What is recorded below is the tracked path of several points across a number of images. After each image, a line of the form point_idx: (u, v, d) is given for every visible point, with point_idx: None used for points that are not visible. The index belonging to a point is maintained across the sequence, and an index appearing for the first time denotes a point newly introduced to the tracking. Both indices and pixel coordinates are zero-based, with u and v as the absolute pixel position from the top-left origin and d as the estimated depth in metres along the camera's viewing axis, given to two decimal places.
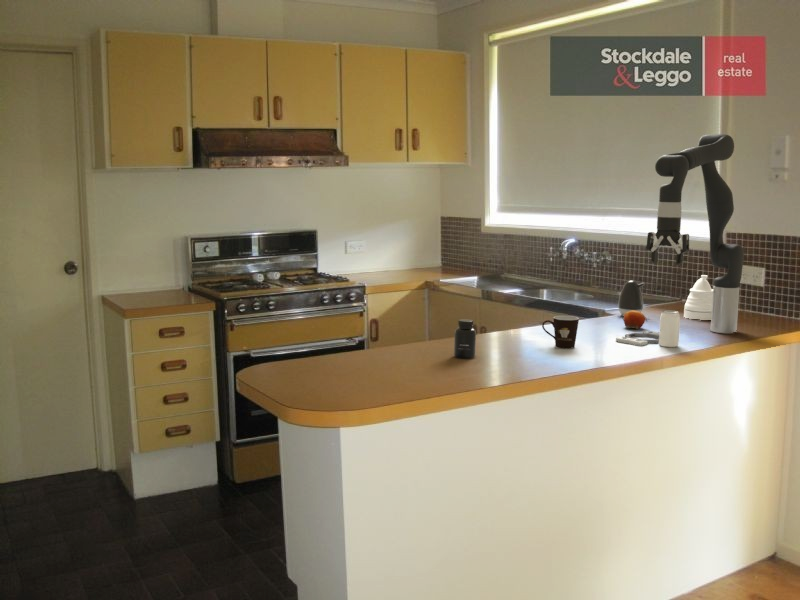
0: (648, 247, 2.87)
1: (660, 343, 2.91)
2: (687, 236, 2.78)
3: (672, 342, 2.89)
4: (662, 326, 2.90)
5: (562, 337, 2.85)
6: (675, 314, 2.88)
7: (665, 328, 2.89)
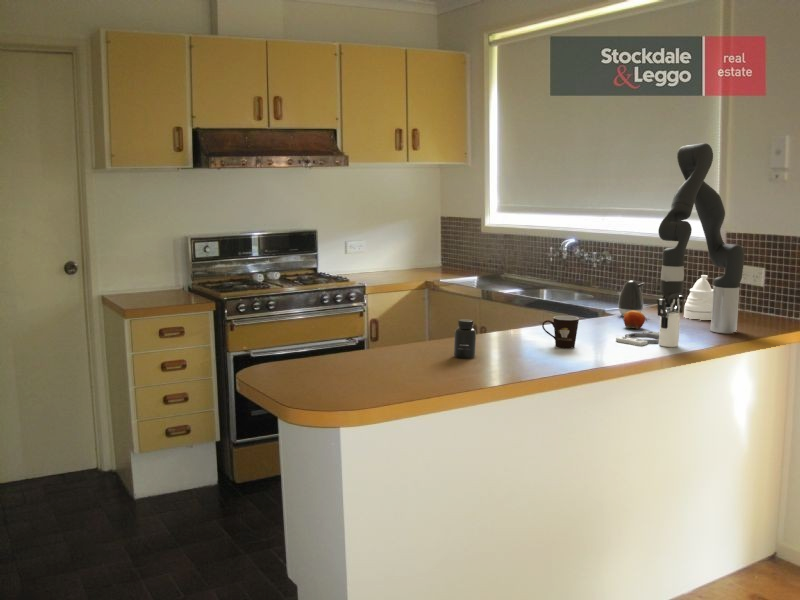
0: (665, 314, 2.86)
1: (660, 343, 2.91)
2: None
3: (672, 342, 2.89)
4: None
5: (562, 337, 2.85)
6: (675, 314, 2.88)
7: None
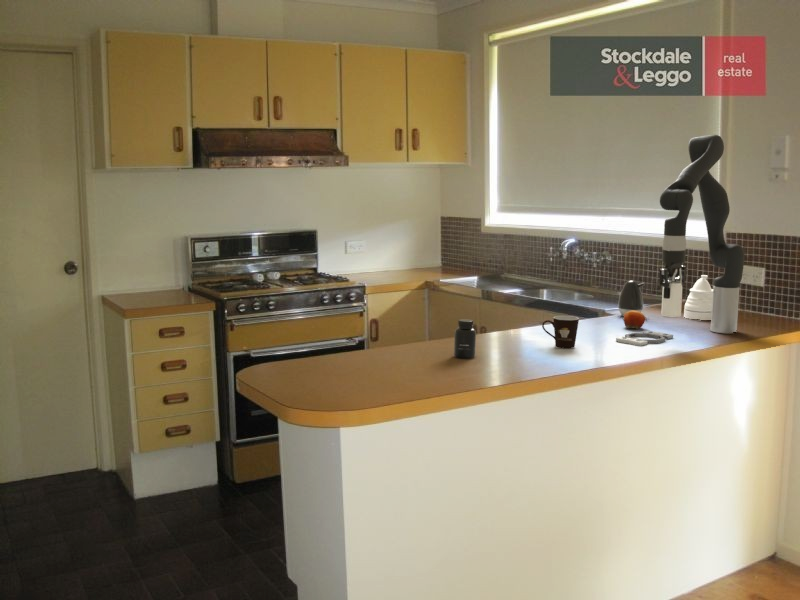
0: (667, 284, 2.84)
1: (662, 314, 2.90)
2: None
3: (675, 313, 2.87)
4: None
5: (562, 337, 2.85)
6: (677, 284, 2.86)
7: None
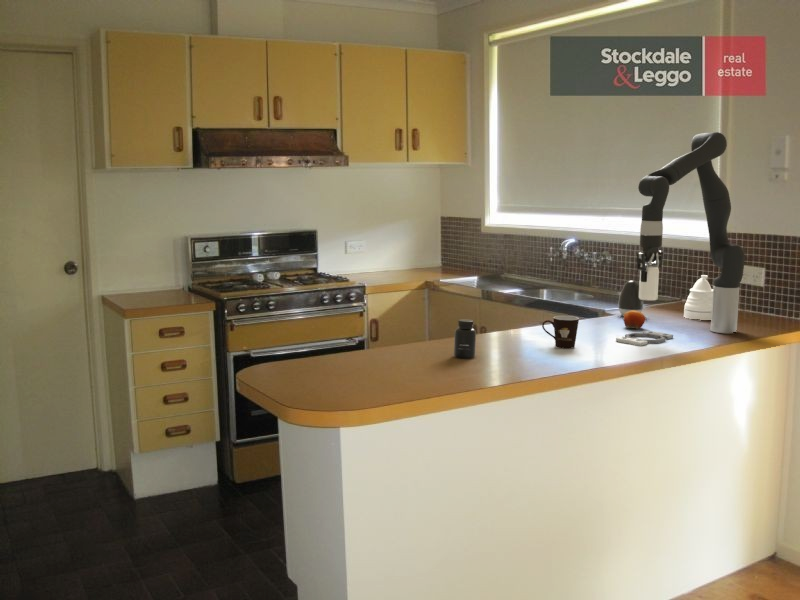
0: (644, 267, 2.93)
1: (640, 297, 2.99)
2: None
3: (651, 296, 2.96)
4: None
5: (562, 337, 2.85)
6: (654, 268, 2.95)
7: (645, 282, 2.96)
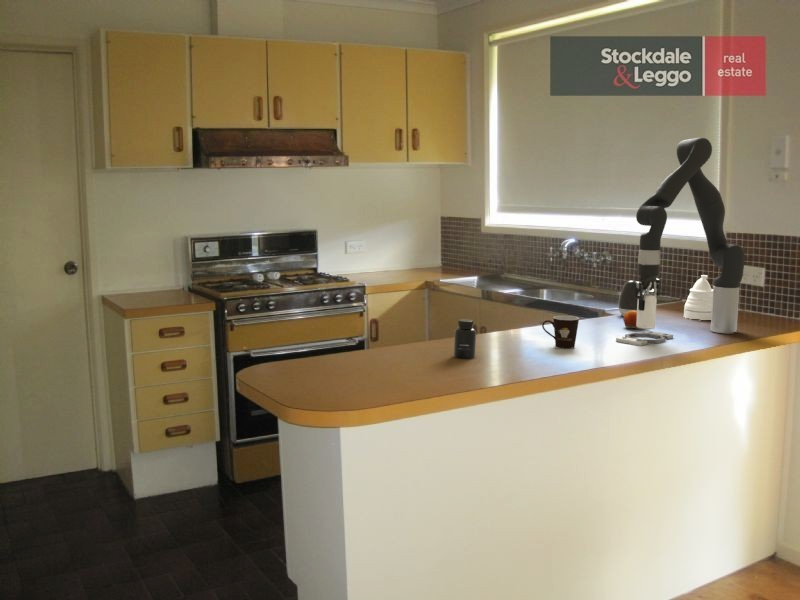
0: (642, 296, 2.95)
1: (637, 325, 3.01)
2: None
3: (649, 324, 2.98)
4: None
5: (562, 337, 2.85)
6: (652, 296, 2.97)
7: None
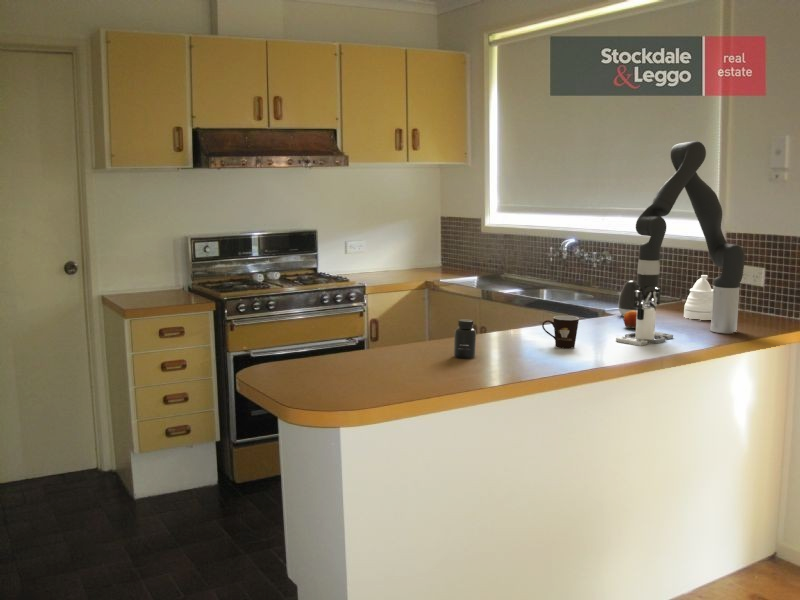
0: (640, 306, 2.95)
1: (636, 337, 3.01)
2: None
3: (648, 337, 2.98)
4: (638, 321, 3.00)
5: (562, 337, 2.85)
6: (651, 309, 2.98)
7: (641, 323, 2.98)
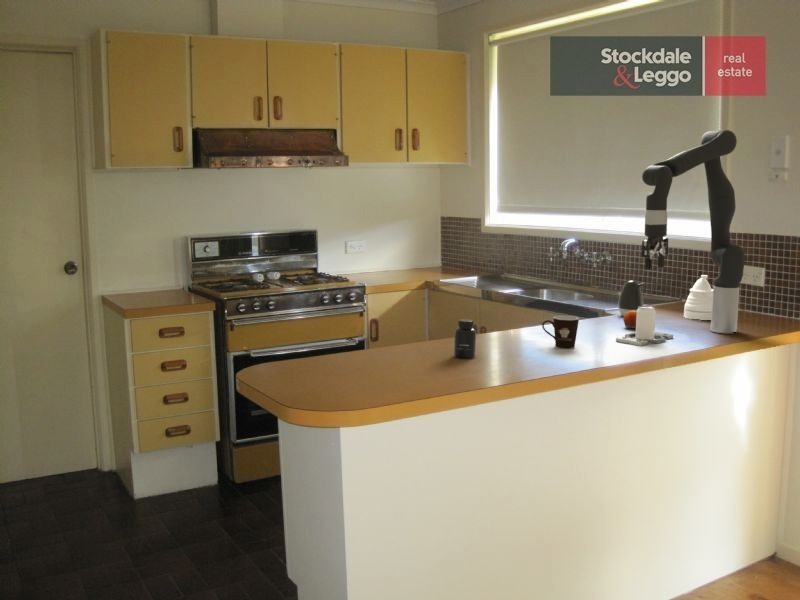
0: (648, 255, 2.95)
1: (636, 337, 3.01)
2: None
3: (648, 337, 2.98)
4: (638, 321, 3.00)
5: (562, 337, 2.85)
6: (651, 309, 2.98)
7: (641, 323, 2.98)
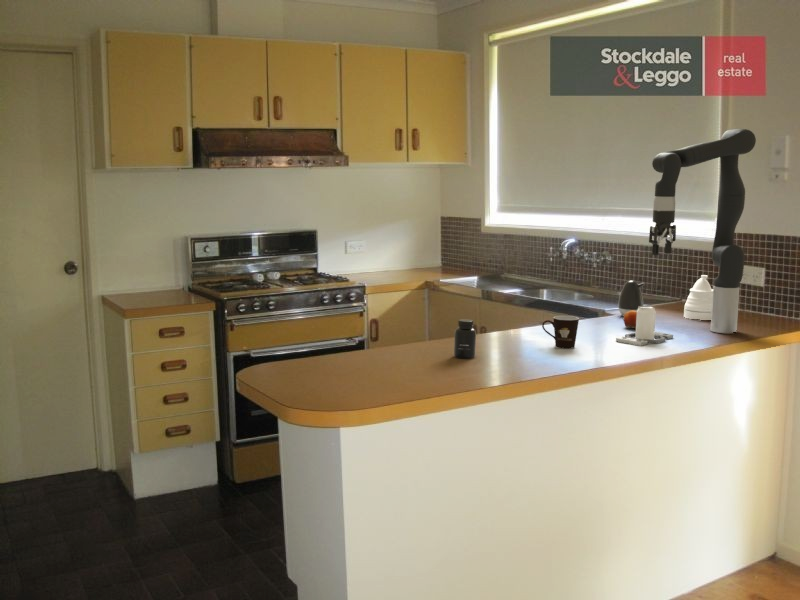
0: (656, 241, 2.99)
1: (636, 337, 3.01)
2: None
3: (648, 337, 2.98)
4: (638, 321, 3.00)
5: (562, 337, 2.85)
6: (651, 309, 2.98)
7: (641, 323, 2.98)
